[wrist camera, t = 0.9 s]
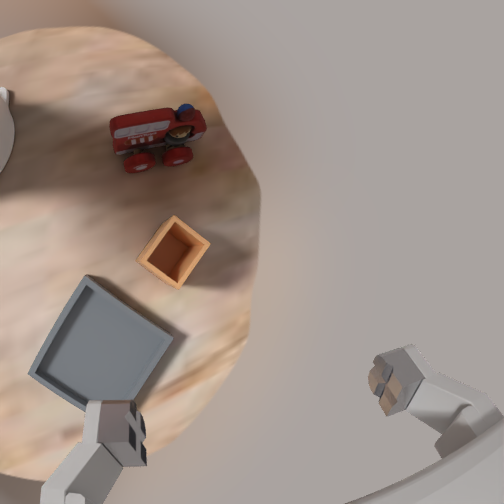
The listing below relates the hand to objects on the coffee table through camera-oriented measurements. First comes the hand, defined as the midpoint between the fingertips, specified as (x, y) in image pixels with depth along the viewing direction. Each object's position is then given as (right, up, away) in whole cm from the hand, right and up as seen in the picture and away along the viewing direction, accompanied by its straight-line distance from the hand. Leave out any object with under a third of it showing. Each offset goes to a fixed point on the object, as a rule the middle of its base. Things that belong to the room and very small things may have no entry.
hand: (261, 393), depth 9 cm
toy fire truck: (-14, +19, +31) cm, 39 cm away
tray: (-20, -9, +27) cm, 35 cm away
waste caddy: (-12, +4, +31) cm, 34 cm away
